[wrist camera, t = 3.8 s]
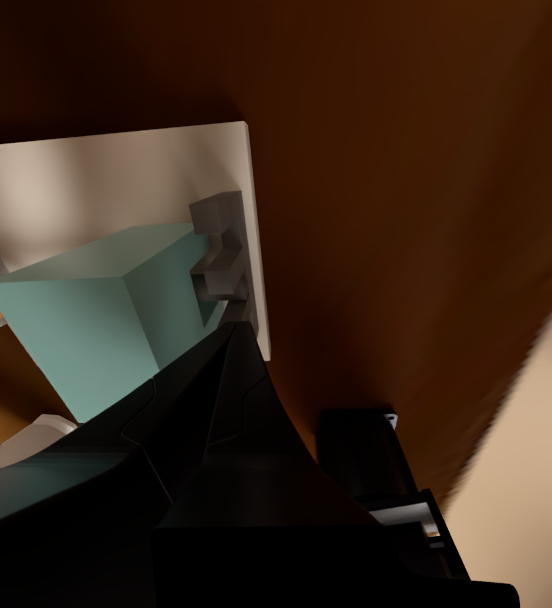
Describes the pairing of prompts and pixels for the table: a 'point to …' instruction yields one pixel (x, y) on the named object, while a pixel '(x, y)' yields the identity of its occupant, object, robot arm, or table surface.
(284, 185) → the table surface
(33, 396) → the table surface
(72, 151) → the cord board
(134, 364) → the teal block
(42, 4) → the table surface
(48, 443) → the cup
